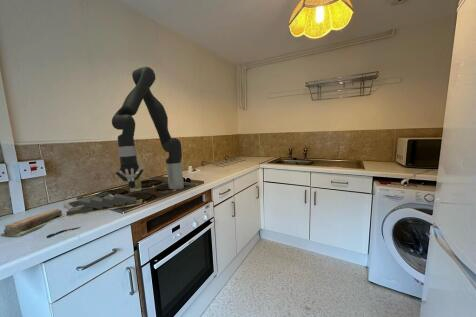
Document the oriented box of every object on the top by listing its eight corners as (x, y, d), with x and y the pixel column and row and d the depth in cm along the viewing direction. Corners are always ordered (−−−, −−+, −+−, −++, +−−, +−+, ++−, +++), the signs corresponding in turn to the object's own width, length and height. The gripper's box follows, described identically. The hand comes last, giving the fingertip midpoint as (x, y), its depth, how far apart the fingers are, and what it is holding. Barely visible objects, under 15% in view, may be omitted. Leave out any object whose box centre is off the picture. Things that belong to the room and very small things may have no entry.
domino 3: (116, 201, 99) (94, 196, 95) (114, 204, 95) (90, 199, 91) (115, 204, 99) (92, 199, 95) (112, 207, 95) (89, 203, 91)
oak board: (142, 201, 105) (142, 199, 105) (141, 205, 98) (141, 203, 98) (75, 212, 95) (75, 209, 94) (68, 218, 87) (68, 216, 87)
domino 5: (136, 198, 103) (115, 193, 99) (135, 200, 98) (113, 196, 94) (135, 201, 103) (114, 197, 99) (134, 204, 98) (112, 200, 94)
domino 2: (106, 202, 98) (83, 197, 94) (103, 205, 93) (79, 200, 89) (104, 205, 98) (81, 201, 94) (101, 209, 93) (77, 204, 89)
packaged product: (16, 226, 72) (-3, 225, 74) (19, 238, 72) (0, 237, 74) (67, 207, 89) (51, 207, 91) (69, 217, 90) (53, 216, 92)
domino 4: (127, 199, 101) (105, 195, 97) (125, 202, 97) (102, 198, 93) (126, 202, 101) (104, 198, 97) (124, 205, 96) (101, 201, 93)
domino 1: (92, 211, 92) (67, 215, 88) (96, 207, 96) (71, 211, 93) (92, 207, 91) (66, 211, 88) (95, 204, 96) (71, 208, 92)
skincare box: (130, 192, 124) (127, 173, 123) (131, 190, 128) (129, 172, 127) (140, 190, 126) (138, 172, 124) (142, 189, 130) (140, 171, 128)
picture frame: (107, 195, 121) (64, 206, 105) (107, 191, 120) (63, 202, 104) (117, 200, 111) (70, 213, 95) (116, 195, 110) (69, 207, 94)
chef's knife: (105, 218, 86) (102, 217, 87) (105, 216, 86) (101, 215, 87) (49, 240, 69) (46, 238, 71) (48, 237, 69) (45, 235, 71)
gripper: (143, 153, 103) (147, 184, 105) (114, 155, 98) (119, 188, 100) (141, 154, 96) (145, 187, 98) (111, 157, 91) (116, 192, 93)
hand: (132, 188), depth 99 cm, fingers closed
